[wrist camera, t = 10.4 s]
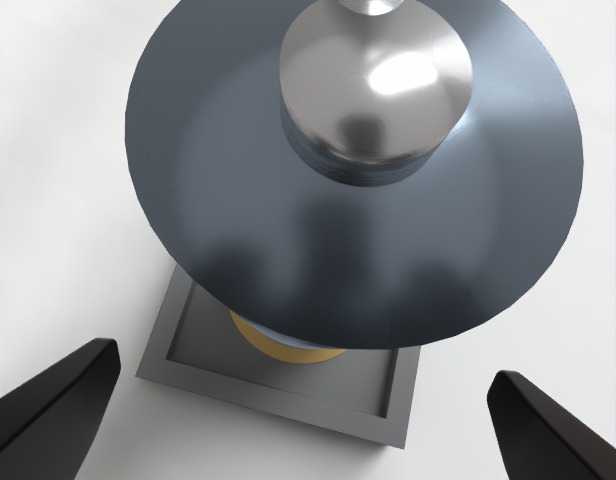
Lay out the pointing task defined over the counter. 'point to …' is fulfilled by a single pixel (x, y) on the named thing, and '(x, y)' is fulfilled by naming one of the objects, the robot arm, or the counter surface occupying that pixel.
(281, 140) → the spout can
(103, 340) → the robot arm
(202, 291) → the tray
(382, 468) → the counter surface
